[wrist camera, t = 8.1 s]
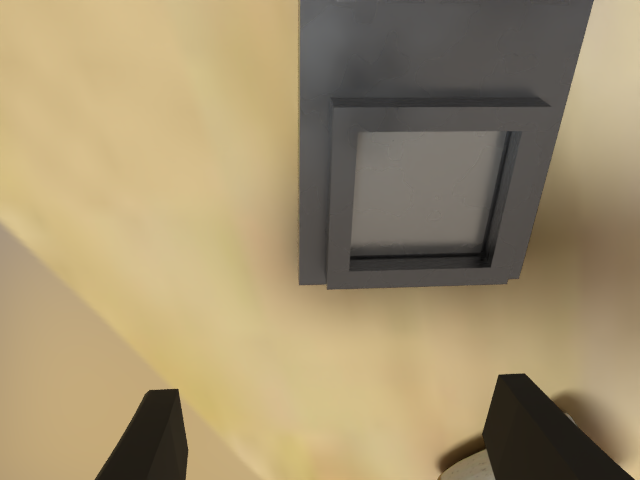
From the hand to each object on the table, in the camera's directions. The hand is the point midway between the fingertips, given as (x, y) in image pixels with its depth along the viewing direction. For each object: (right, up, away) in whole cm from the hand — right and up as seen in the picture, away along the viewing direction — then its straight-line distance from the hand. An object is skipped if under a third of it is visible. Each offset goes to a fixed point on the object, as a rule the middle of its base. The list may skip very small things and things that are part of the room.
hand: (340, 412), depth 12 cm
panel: (+3, +10, +6) cm, 12 cm away
